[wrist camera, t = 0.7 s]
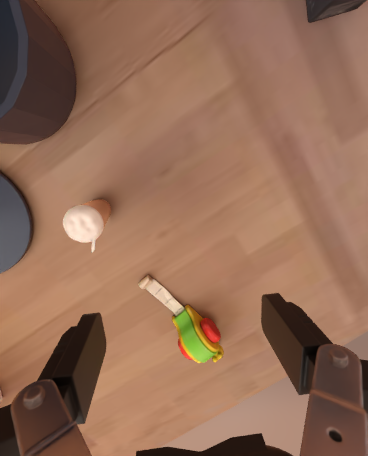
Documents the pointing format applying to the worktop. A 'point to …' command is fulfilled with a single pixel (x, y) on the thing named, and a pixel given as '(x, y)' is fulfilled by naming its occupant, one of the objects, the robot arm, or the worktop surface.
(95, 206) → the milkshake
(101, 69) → the worktop surface
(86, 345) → the robot arm
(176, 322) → the toy measuring tape
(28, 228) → the tin lid
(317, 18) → the small box
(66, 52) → the tin
